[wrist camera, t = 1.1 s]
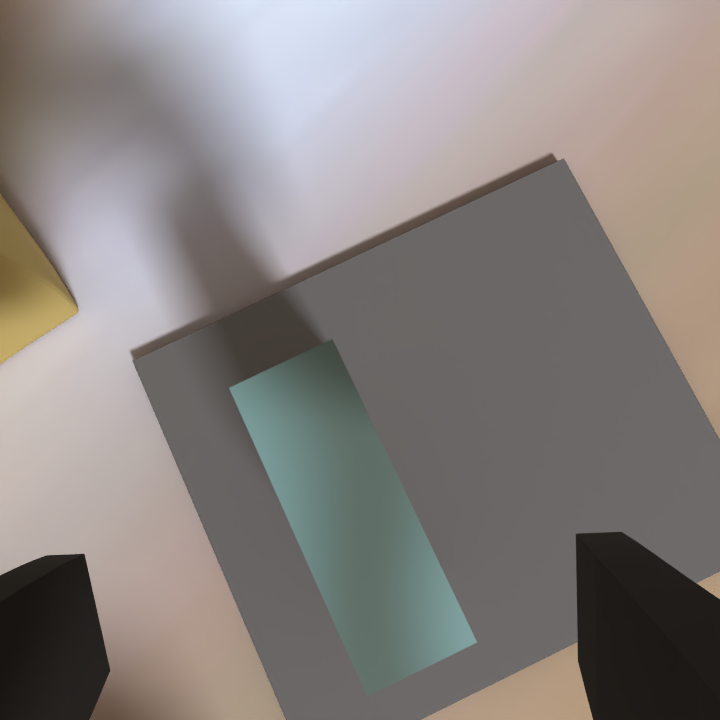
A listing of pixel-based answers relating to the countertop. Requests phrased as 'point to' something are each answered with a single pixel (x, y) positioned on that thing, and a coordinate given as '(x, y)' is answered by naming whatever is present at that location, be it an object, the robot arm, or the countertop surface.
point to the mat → (456, 436)
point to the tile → (352, 518)
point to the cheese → (27, 288)
